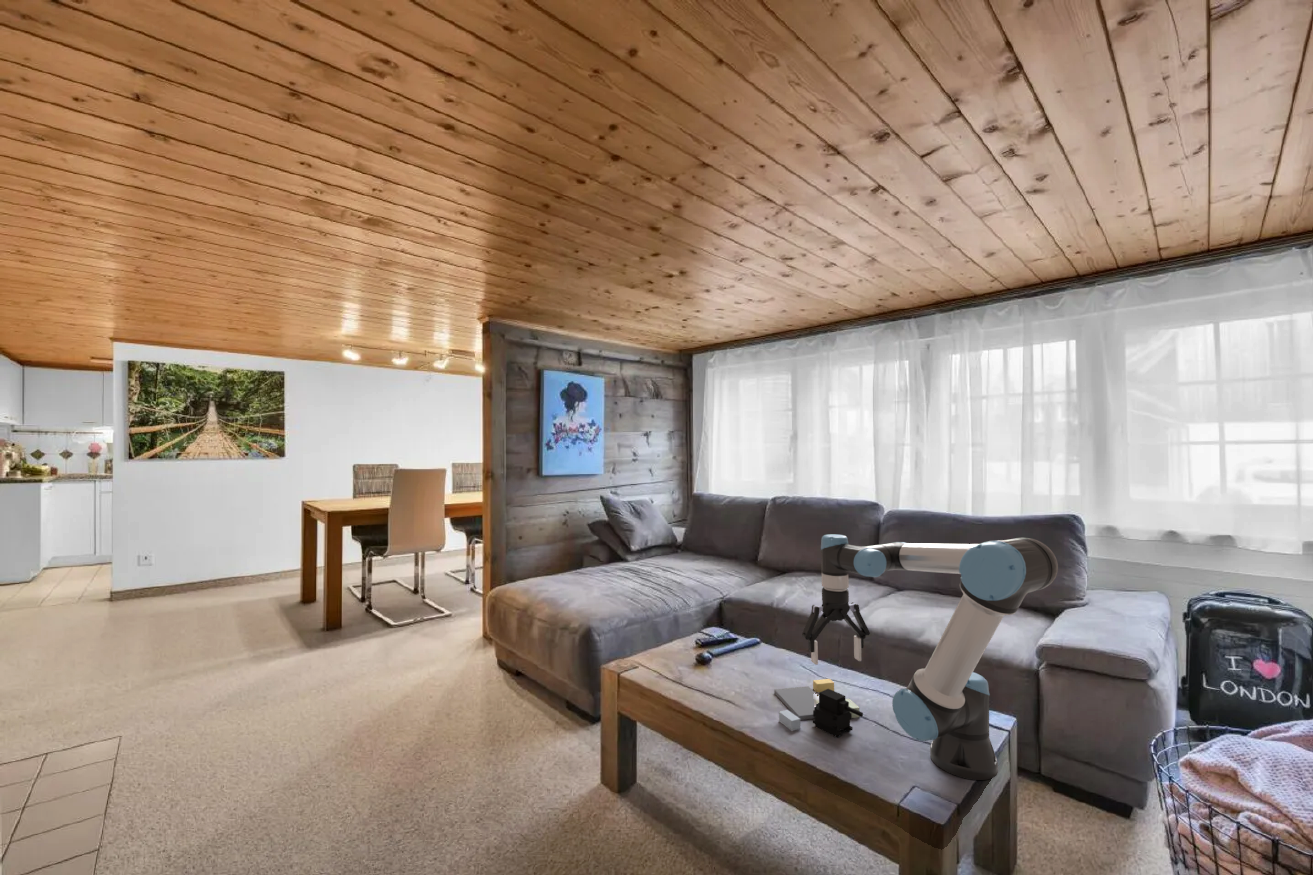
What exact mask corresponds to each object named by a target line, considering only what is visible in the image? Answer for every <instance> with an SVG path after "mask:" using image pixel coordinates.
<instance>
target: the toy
mask: <svg viewBox="0 0 1313 875" xmlns="http://www.w3.org/2000/svg"><path fill="white" fill-rule="evenodd" d="M818 696H819V703H818V704H816V707H815V710H813V716H814V717H815V718H813V720H812V724H814V727H815V728H816V727H817V728H816V729H819V730H820V729H821V730H820V731H823V732H825V733H827V734H829V735H830V736H832V735H833V737H834V738H839V737H842V736H843V733H842V732H841V731H845V732H846V733H850V732H851V731H853V729H854V727H853V726H851V720H852V713H854V714H856V715H858V716H860V717H863V716H864V713H863V712H862V711H860V710H859V711H858V710H855V709H853V708H851V707H849V702H848V701H845V699H846V695H844V694H841V693H839V692H837V691H835V690H834V691H832V690H830V689H826V690H824V691H822V692H819V693H818ZM850 712H852V713H850Z"/></svg>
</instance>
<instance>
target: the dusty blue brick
mask: <svg viewBox="0 0 1313 875" xmlns="http://www.w3.org/2000/svg"><path fill="white" fill-rule="evenodd" d="M778 722H780V723H781V724H782V725H784V726H785V727H786V728H787V729H789V730H790V731H791V732H793V731H798V730H800V729H801V720H800V718H798V717H797V716H796V715H794V714H793V713H792V712H791V711H790V709H784V710H781V711H779V712H778Z"/></svg>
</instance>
